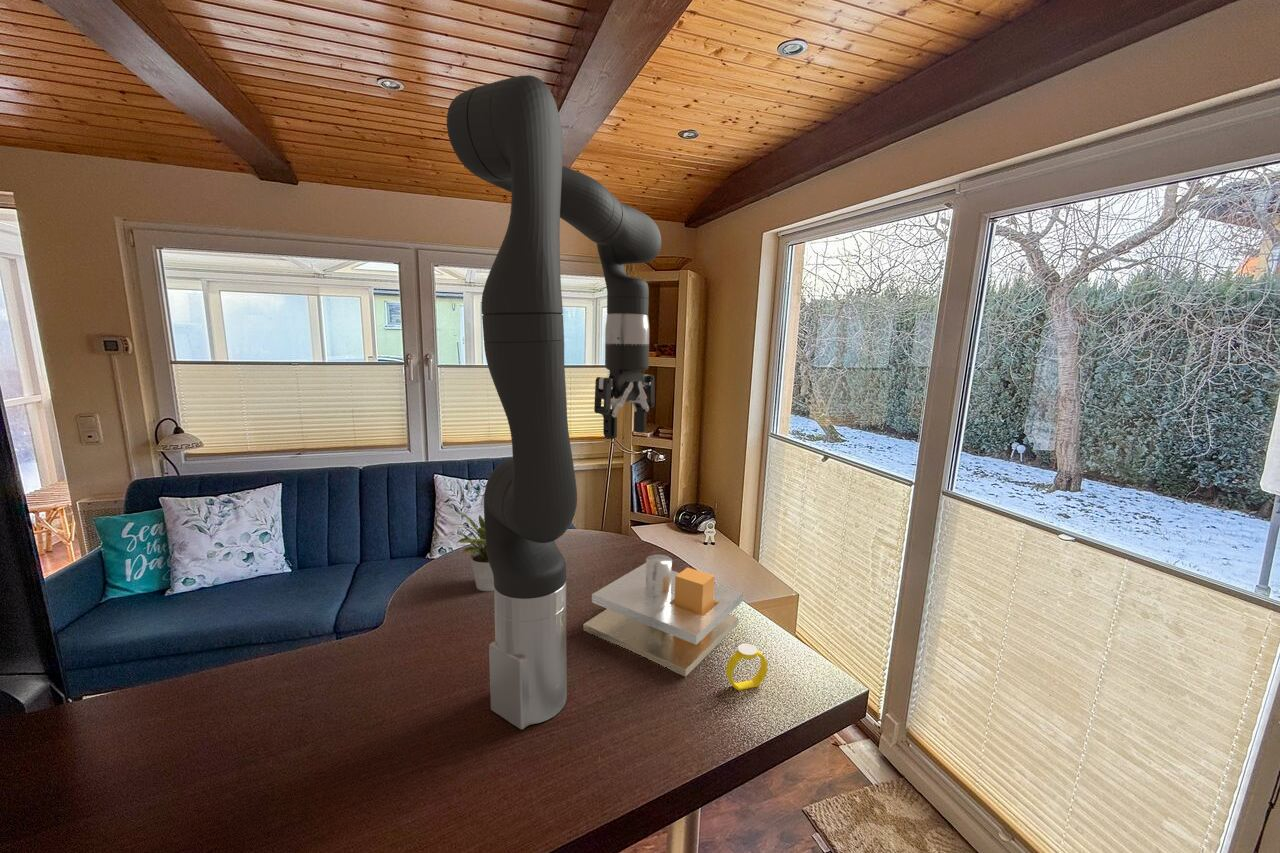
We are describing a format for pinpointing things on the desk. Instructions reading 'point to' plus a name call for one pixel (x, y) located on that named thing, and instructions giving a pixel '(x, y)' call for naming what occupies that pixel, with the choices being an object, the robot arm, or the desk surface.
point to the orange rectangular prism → (694, 592)
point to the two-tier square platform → (661, 617)
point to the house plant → (479, 556)
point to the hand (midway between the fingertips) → (625, 435)
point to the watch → (748, 653)
